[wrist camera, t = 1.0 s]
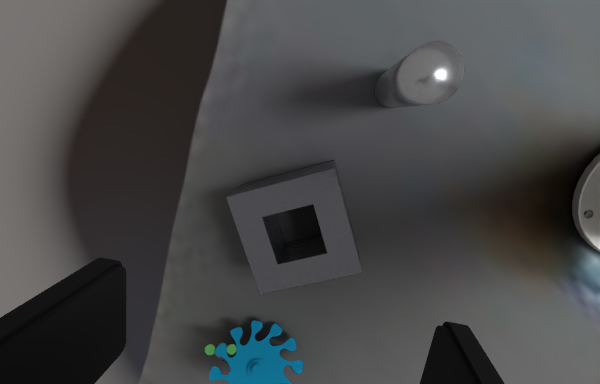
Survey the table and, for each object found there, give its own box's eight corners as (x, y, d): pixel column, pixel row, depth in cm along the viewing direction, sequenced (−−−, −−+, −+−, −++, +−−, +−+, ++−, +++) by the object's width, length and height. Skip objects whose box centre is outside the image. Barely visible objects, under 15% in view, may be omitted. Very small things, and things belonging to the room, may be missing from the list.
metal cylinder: (407, 64, 29) (458, 32, 18) (415, 101, 30) (468, 94, 18) (371, 75, 30) (396, 52, 18) (379, 112, 30) (409, 111, 19)
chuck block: (333, 159, 32) (334, 168, 27) (357, 249, 34) (362, 272, 29) (241, 185, 33) (226, 197, 29) (269, 269, 35) (259, 294, 31)
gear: (319, 346, 35) (276, 450, 30) (310, 349, 40) (273, 439, 36) (232, 299, 37) (178, 391, 32) (235, 308, 42) (189, 388, 37)
